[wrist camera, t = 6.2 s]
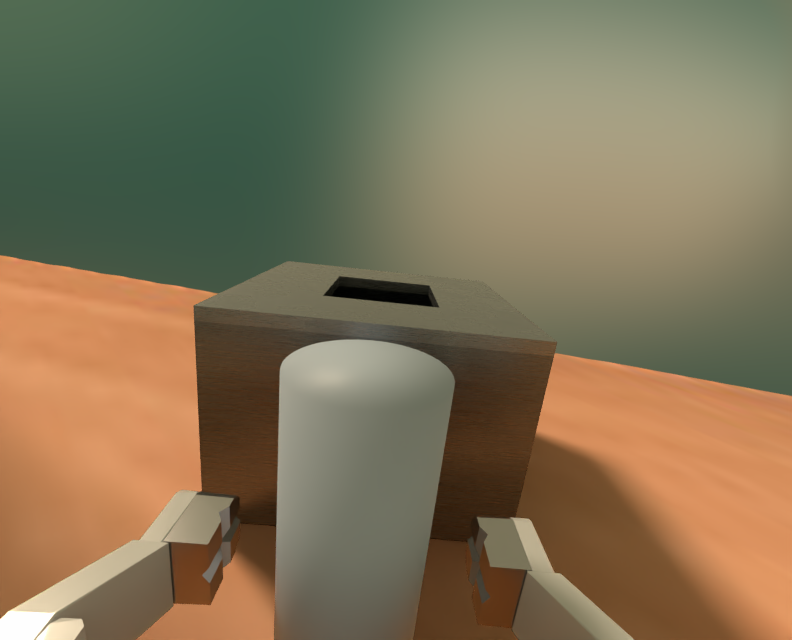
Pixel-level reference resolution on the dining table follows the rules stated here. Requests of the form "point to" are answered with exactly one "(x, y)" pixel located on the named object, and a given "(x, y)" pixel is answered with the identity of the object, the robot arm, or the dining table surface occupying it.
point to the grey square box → (380, 321)
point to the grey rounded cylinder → (356, 487)
